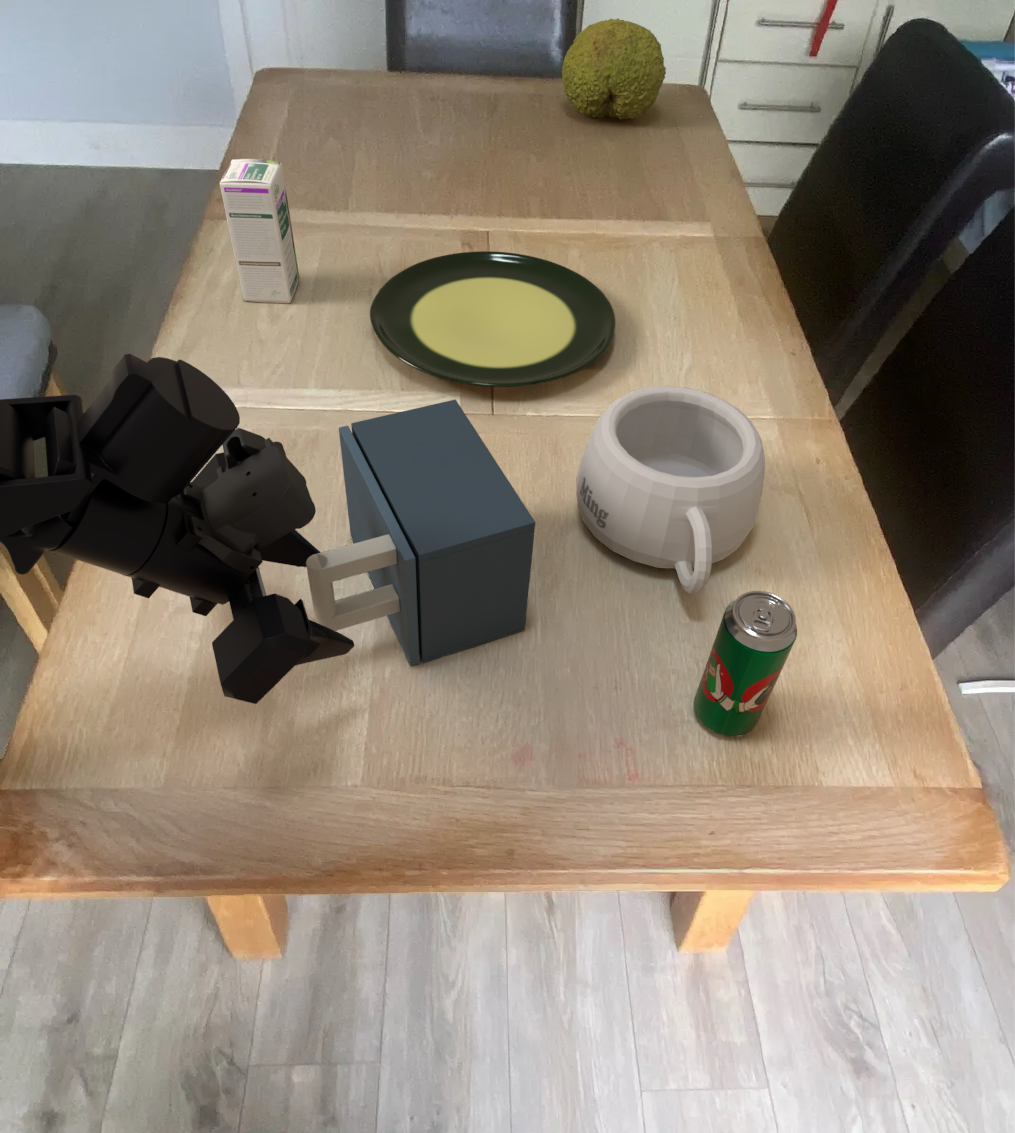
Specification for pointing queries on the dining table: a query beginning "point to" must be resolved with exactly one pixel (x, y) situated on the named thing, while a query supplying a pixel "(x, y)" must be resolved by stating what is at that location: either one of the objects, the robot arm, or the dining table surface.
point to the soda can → (745, 662)
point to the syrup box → (260, 229)
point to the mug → (672, 480)
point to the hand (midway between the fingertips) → (335, 603)
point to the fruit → (613, 70)
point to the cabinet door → (367, 560)
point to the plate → (493, 319)
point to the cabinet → (453, 525)
